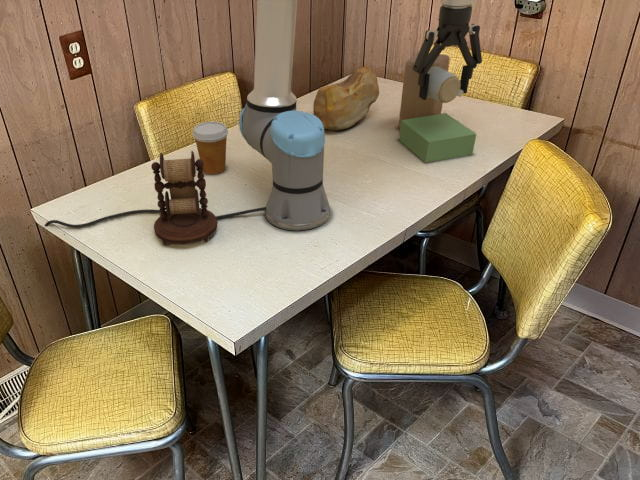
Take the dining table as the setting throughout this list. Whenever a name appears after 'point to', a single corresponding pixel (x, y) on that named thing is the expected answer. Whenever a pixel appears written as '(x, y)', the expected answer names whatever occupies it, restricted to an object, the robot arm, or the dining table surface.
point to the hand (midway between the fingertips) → (442, 95)
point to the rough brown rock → (346, 100)
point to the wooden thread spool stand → (182, 202)
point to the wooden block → (410, 94)
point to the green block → (437, 137)
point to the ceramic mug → (443, 85)
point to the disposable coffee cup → (211, 145)
